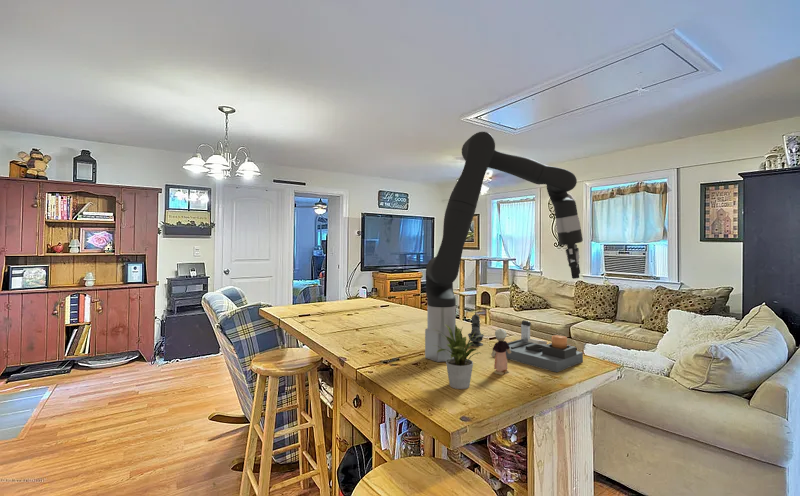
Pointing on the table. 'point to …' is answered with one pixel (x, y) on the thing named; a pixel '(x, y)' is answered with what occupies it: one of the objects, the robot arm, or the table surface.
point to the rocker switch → (537, 341)
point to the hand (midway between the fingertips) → (576, 276)
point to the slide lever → (525, 331)
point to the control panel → (544, 355)
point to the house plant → (459, 359)
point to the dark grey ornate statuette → (476, 328)
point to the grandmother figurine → (500, 352)
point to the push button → (559, 341)
